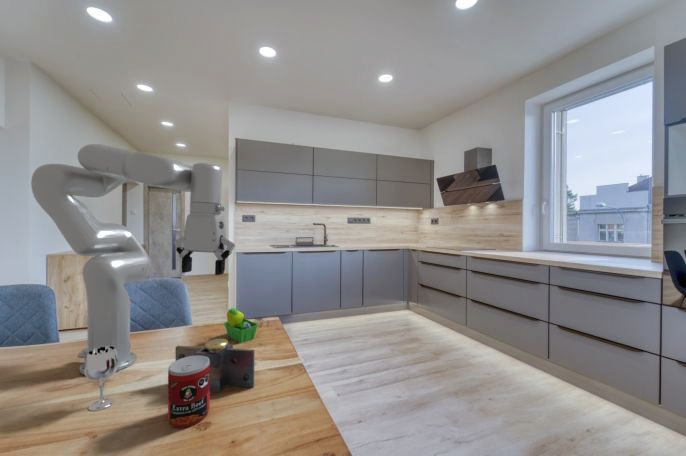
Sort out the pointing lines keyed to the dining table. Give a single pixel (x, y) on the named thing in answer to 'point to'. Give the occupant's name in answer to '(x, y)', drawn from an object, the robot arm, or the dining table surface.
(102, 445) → the dining table surface
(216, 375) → the hinge leaf
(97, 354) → the wineglass
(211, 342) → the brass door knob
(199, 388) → the canned food
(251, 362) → the hinge leaf
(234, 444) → the dining table surface
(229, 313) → the fruit basket
